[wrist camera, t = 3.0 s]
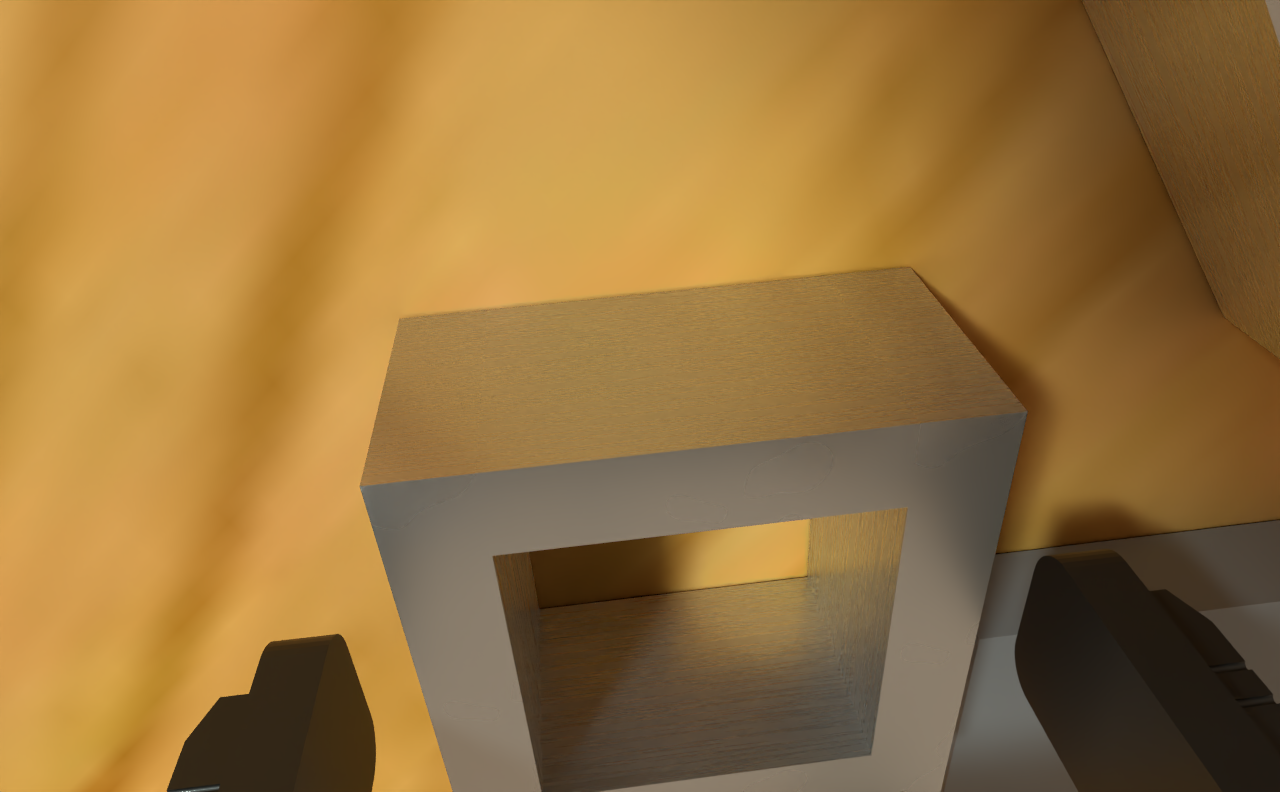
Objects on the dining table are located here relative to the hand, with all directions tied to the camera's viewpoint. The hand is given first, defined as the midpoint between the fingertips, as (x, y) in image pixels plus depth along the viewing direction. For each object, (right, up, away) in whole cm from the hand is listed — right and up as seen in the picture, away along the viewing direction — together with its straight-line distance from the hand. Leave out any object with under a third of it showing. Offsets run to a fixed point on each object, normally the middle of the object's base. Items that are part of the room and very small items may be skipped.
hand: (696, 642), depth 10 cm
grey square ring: (0, +2, +2) cm, 2 cm away
